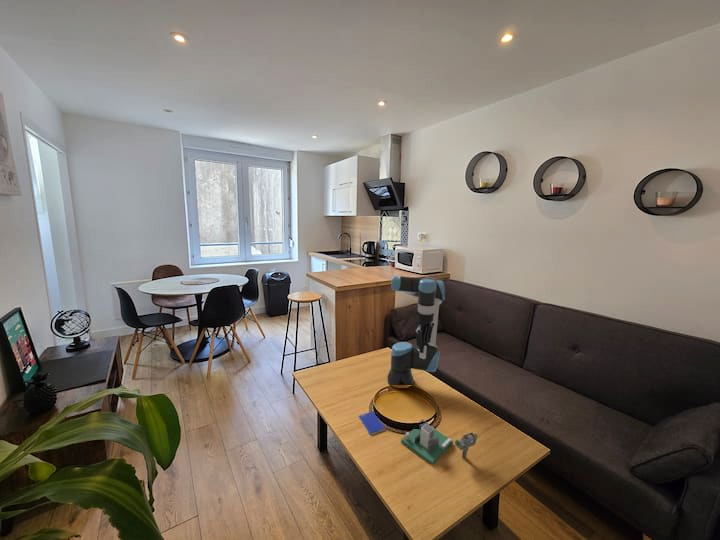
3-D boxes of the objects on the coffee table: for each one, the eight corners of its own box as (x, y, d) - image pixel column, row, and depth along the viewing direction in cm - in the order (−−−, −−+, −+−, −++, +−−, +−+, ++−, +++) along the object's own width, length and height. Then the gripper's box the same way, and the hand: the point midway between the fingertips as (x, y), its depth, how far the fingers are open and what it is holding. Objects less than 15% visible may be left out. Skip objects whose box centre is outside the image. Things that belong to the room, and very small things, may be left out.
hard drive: (358, 415, 148) (370, 433, 137) (373, 410, 151) (385, 428, 140) (358, 418, 148) (369, 436, 137) (373, 413, 151) (385, 430, 140)
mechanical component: (451, 458, 125) (454, 438, 123) (471, 451, 129) (473, 431, 126) (456, 464, 122) (459, 444, 120) (476, 456, 126) (478, 436, 124)
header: (424, 435, 135) (424, 427, 134) (438, 444, 130) (439, 437, 129) (414, 443, 131) (415, 435, 130) (429, 453, 125) (429, 445, 124)
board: (422, 424, 144) (422, 416, 143) (452, 443, 133) (453, 435, 131) (401, 442, 133) (401, 433, 132) (432, 465, 122) (432, 456, 121)
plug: (425, 438, 133) (426, 422, 131) (434, 444, 130) (435, 428, 128) (419, 443, 130) (420, 427, 128) (428, 450, 127) (430, 433, 125)
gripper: (426, 306, 148) (423, 350, 153) (410, 313, 139) (408, 359, 145) (440, 310, 142) (436, 356, 148) (424, 318, 134) (421, 365, 139)
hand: (422, 357), depth 146 cm, fingers closed
